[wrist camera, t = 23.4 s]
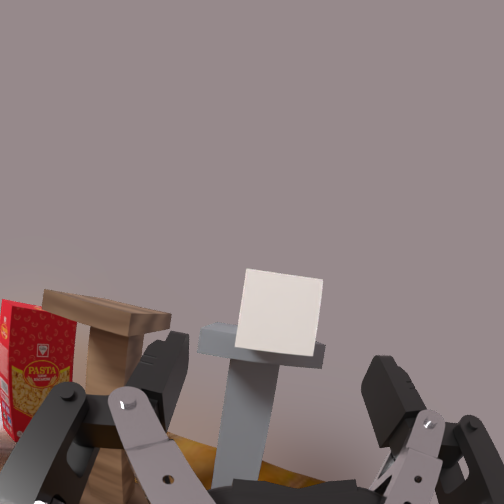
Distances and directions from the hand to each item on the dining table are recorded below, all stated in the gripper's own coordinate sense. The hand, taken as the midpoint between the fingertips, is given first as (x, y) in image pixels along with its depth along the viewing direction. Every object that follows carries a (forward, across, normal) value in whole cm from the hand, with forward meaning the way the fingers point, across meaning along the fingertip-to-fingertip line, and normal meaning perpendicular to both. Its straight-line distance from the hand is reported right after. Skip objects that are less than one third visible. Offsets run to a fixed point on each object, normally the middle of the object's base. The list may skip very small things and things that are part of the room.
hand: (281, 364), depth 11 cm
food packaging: (+11, +37, +40) cm, 56 cm away
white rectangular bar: (+11, 0, +6) cm, 13 cm away
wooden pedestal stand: (+1, +16, +35) cm, 38 cm away
